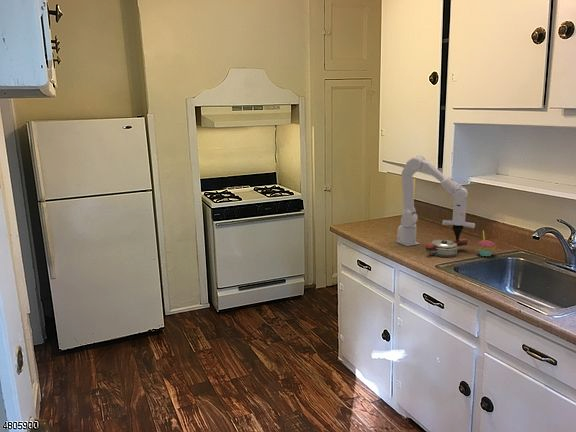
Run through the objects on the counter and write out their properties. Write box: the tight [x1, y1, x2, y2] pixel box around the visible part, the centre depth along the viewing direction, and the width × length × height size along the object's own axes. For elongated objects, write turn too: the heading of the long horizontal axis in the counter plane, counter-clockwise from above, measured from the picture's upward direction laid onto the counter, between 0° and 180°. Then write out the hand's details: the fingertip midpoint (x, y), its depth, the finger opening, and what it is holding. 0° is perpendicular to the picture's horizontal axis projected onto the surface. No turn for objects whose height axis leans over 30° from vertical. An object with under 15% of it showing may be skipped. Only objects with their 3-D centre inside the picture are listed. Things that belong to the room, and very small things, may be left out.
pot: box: [425, 242, 468, 258], centre depth 229 cm, size 13×23×4 cm, turn 114°
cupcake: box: [475, 230, 497, 258], centre depth 224 cm, size 9×8×12 cm
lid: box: [425, 238, 469, 248], centre depth 228 cm, size 23×11×2 cm, turn 112°
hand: (457, 240), depth 233 cm, fingers closed
